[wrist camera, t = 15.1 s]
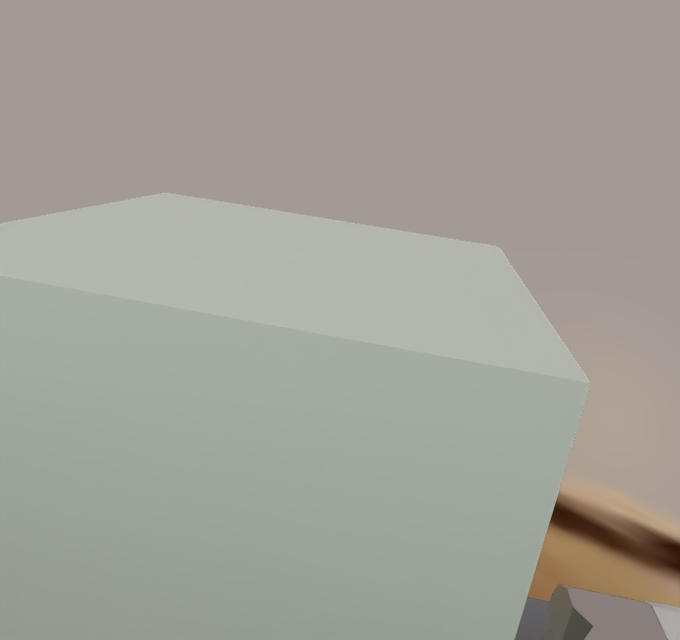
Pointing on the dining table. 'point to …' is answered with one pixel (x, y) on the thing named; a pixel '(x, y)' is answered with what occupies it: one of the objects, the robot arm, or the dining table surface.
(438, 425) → the cover
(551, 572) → the dining table surface
